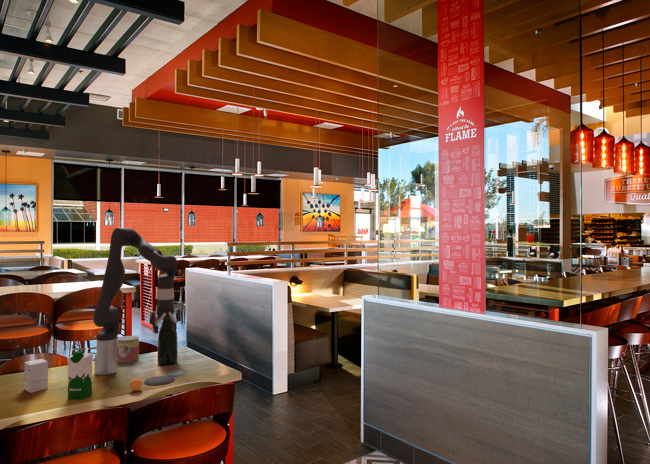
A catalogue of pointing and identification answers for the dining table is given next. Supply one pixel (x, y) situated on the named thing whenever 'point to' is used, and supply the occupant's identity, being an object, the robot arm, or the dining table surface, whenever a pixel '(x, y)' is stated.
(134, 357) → the canned food
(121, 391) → the dining table surface
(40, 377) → the supplement box
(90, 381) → the milk carton
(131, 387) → the ball
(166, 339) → the dark green wine bottle
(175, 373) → the disc
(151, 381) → the disc
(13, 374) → the dining table surface
